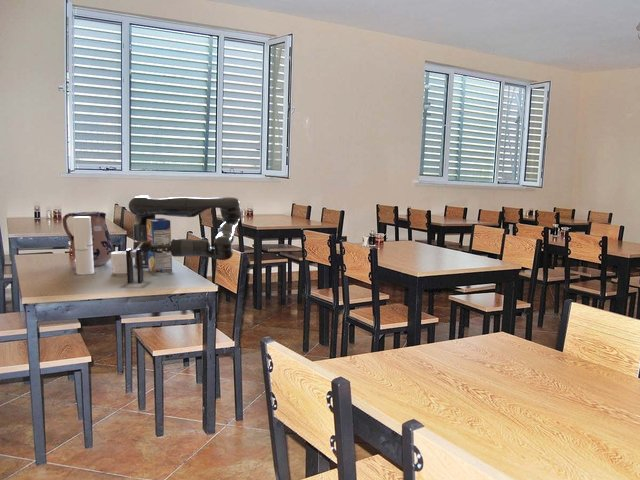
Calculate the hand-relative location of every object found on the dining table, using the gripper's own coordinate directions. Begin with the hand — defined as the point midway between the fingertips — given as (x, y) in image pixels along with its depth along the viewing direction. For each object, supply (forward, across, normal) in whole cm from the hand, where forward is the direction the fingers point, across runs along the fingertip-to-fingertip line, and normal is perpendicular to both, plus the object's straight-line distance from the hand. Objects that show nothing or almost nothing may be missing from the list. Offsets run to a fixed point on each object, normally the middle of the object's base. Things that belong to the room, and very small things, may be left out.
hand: (142, 247), depth 274 cm
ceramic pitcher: (+36, +35, -14) cm, 52 cm away
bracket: (0, -12, -14) cm, 18 cm away
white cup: (+13, +10, -14) cm, 21 cm away
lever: (0, -6, -1) cm, 6 cm away
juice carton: (-2, +16, -14) cm, 22 cm away
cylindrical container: (+30, +14, -14) cm, 36 cm away
